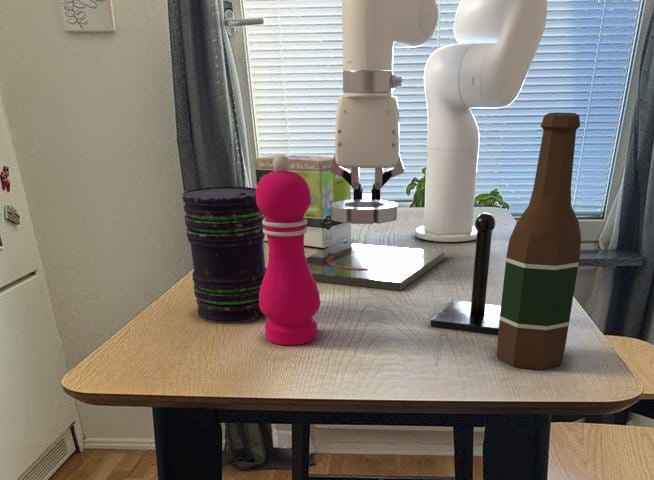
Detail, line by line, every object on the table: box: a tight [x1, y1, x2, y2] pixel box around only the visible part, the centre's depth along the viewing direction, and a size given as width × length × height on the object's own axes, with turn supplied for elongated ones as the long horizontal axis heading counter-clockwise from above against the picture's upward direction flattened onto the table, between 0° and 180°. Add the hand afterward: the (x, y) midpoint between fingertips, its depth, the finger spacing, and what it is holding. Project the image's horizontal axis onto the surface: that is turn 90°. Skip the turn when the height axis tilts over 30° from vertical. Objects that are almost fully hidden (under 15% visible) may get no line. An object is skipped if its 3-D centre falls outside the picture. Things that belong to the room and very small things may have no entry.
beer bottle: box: [496, 112, 582, 371], centre depth 68 cm, size 8×8×24 cm
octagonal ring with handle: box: [331, 192, 398, 225], centre depth 105 cm, size 17×10×2 cm, turn 176°
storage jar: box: [181, 186, 267, 324], centre depth 86 cm, size 10×10×15 cm
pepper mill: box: [256, 154, 321, 346], centre depth 76 cm, size 7×7×20 cm
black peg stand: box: [429, 212, 501, 336], centre depth 83 cm, size 10×10×13 cm
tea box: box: [254, 153, 352, 249], centre depth 125 cm, size 15×10×15 cm
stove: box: [306, 242, 446, 292], centre depth 110 cm, size 22×20×1 cm
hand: (366, 213), depth 111 cm, fingers closed on octagonal ring with handle, 1 cm apart
